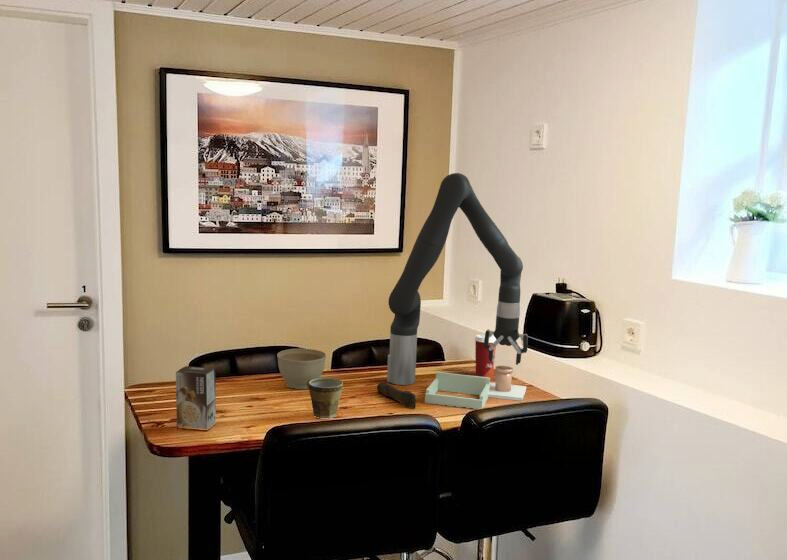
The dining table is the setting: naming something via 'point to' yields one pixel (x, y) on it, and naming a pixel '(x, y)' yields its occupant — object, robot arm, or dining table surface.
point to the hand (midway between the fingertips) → (504, 362)
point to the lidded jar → (503, 378)
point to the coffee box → (195, 397)
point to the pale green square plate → (514, 394)
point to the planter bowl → (300, 366)
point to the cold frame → (458, 390)
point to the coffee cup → (484, 356)
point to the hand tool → (397, 394)
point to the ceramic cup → (325, 396)
